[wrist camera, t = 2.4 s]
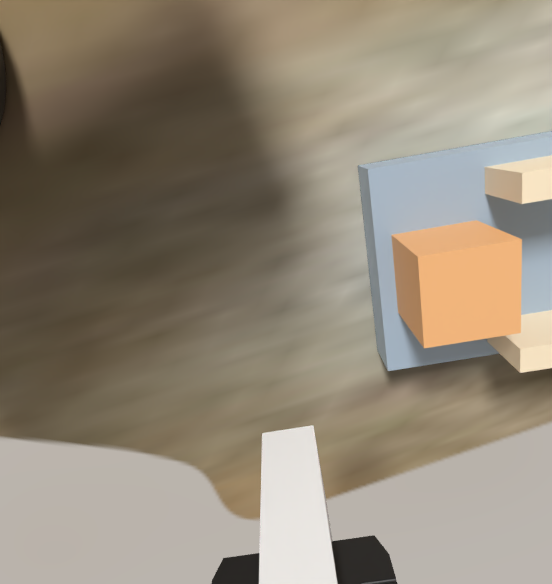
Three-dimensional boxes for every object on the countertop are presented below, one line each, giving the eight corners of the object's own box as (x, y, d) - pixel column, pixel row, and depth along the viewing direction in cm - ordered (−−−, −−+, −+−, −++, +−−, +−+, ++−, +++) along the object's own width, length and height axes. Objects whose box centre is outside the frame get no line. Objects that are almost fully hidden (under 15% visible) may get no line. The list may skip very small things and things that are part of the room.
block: (398, 312, 28) (424, 348, 23) (391, 234, 27) (417, 256, 22) (478, 299, 28) (520, 333, 23) (476, 220, 26) (521, 239, 22)
